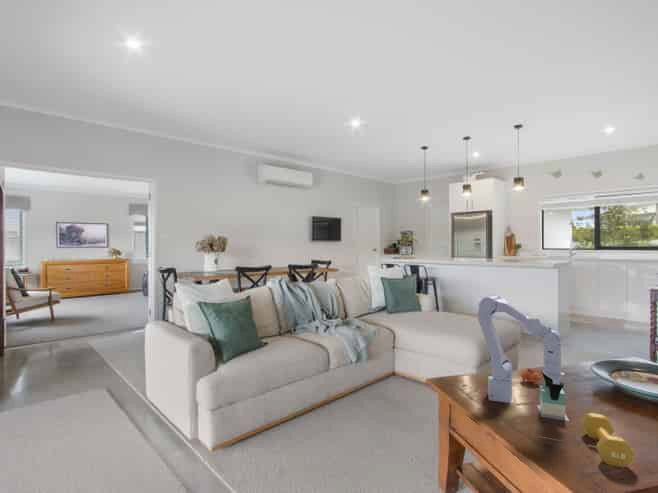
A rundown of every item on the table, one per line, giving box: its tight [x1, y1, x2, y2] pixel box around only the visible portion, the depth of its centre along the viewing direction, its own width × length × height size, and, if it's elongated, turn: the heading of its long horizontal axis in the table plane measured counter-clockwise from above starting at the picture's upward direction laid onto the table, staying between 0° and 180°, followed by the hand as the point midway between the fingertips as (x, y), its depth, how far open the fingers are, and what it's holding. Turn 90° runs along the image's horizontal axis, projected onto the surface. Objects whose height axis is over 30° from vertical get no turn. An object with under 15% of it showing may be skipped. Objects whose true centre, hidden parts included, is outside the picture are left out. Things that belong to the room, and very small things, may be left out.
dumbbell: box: [580, 412, 635, 469], centre depth 111 cm, size 19×9×8 cm, turn 159°
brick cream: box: [539, 397, 566, 417], centre depth 135 cm, size 8×5×4 cm, turn 67°
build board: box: [536, 404, 570, 422], centre depth 135 cm, size 9×10×1 cm
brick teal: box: [539, 385, 566, 407], centre depth 135 cm, size 8×5×4 cm, turn 67°
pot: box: [520, 368, 541, 386], centre depth 164 cm, size 8×8×7 cm
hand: (552, 395), depth 135 cm, fingers open, 7 cm apart
